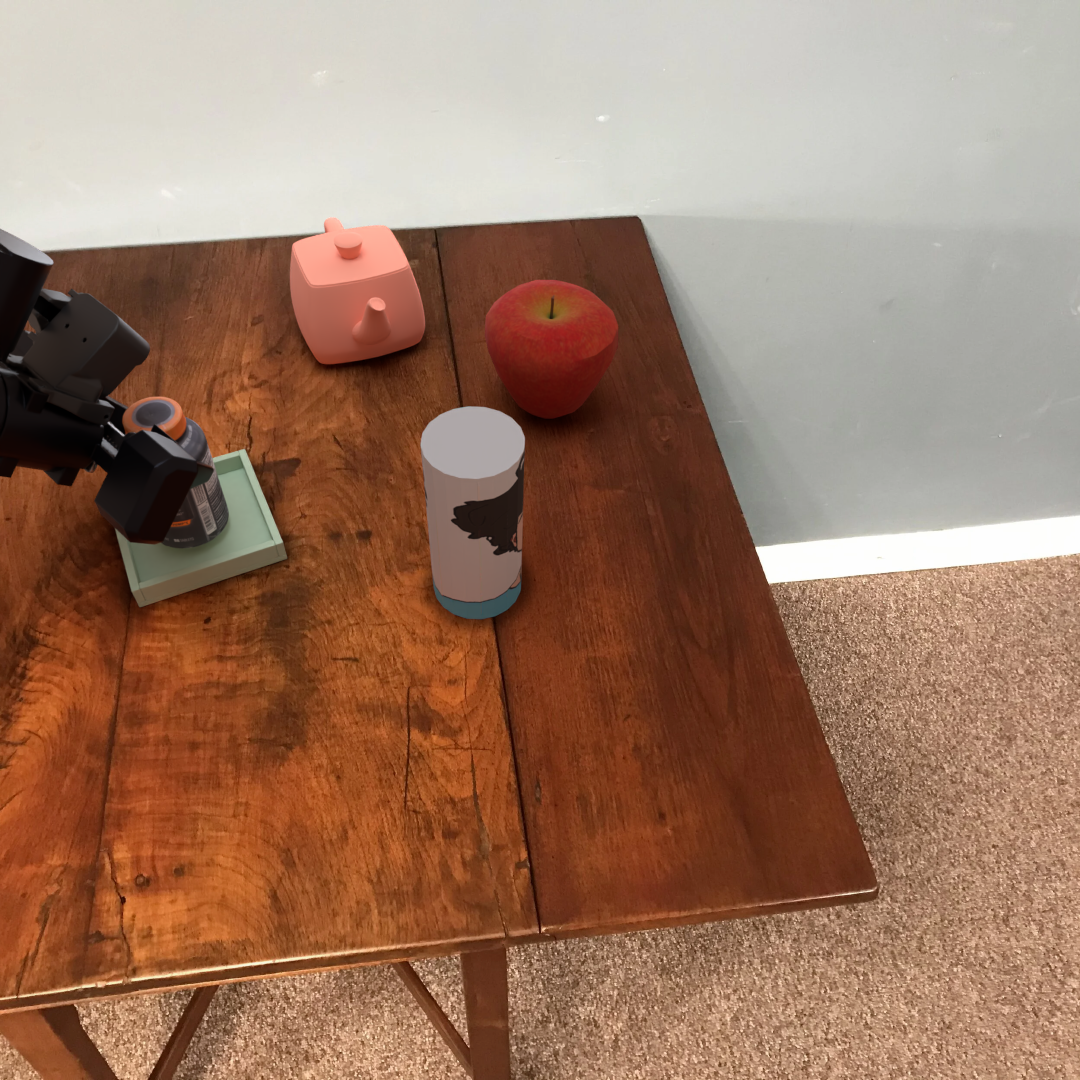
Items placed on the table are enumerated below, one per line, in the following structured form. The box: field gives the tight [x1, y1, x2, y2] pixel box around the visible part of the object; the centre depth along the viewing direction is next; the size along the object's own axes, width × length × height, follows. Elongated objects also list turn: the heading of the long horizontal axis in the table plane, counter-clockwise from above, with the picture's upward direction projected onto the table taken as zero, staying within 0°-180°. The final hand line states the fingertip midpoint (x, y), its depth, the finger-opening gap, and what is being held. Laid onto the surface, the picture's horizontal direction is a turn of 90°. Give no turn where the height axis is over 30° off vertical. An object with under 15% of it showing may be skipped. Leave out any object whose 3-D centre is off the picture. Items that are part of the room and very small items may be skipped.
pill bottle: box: [122, 396, 229, 549], centre depth 69 cm, size 6×6×11 cm
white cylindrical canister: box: [420, 405, 526, 620], centre depth 66 cm, size 7×7×15 cm
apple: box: [484, 279, 620, 420], centre depth 81 cm, size 11×11×12 cm
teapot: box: [289, 216, 426, 365], centre depth 87 cm, size 12×18×10 cm, turn 22°
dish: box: [114, 448, 288, 608], centre depth 74 cm, size 11×11×2 cm
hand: (185, 453), depth 69 cm, fingers closed on pill bottle, 6 cm apart
